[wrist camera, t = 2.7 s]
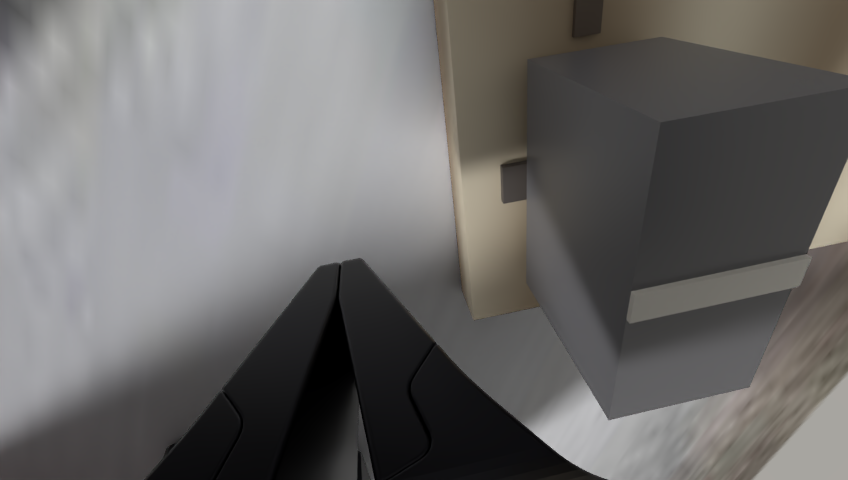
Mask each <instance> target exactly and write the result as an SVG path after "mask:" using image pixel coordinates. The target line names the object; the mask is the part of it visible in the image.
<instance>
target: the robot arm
mask: <svg viewBox="0 0 848 480" xmlns="http://www.w3.org/2000/svg"><path fill="white" fill-rule="evenodd" d="M222 390H223V392H222V391H221V392H219V393H218V394H217V395H216V397H215V398H214V399H213V401H212V402H211V403H210V404H209V406H208V407H207V408H206V409H205V411H204V412H203V413H202V414H201V415H200V417H199V418H198V419H197V420H196V421H195V423H194V424H193V425H192V426H191V427H190V429H189V430H188V431H187V432H186V433H185V435H184V436H183V437H182V438H181V439H180V440H179V442H178V443H177V444H174V445H171V446H169V447H168V448H167V449H166V452H165V455H164V458H163V459H162V460H161V462H160V463H159V464H158V465H157V466H156V467H155V468H154V469H153V470H152V472H151V473H150V474H149V475H148V476H147V477H146V478H145V479H144V480H371V479H370V476H369V473H368V470H367V468H366V465H365V462H364V459H363V456H362V453H361V452H360V451H359V450H358V409H359V404H360V409H361V414H362V419H363V424H364V429H365V434H366V439H367V444H368V448H369V453H370V458H371V463H372V468H373V473H374V478H375V480H607V479H604V478H601V477H598V476H596V475H593V474H591V473H589V472H587V471H585V470H583V469H581V468H579V467H578V466H576V465H574V464H573V463H571V462H569V461H568V460H566V459H565V458H564V457H562V456H561V455H559V454H558V453H557V452H556V451H554V450H553V449H552V448H551V447H549V446H548V445H547V444H546V443H544V442H543V441H542V440H541V439H540V438H539V437H537V436H536V435H535V434H534V433H533V432H531V431H530V430H529V429H528V428H527V427H525V426H524V425H523V424H522V423H521V422H520V421H518V420H517V419H516V418H515V417H514V416H512V415H511V414H510V413H509V412H508V411H506V410H505V409H504V408H503V407H502V406H500V405H499V404H498V403H497V402H496V401H495V400H493V399H492V398H491V397H490V396H489V395H488V394H486V393H485V392H484V391H483V390H482V389H481V388H480V387H479V386H477V385H476V384H475V383H474V382H473V381H472V380H471V379H470V378H469V377H467V376H466V374H465V373H464V372H463V371H462V370H461V369H460V368H459V367H458V366H457V365H456V364H455V363H454V362H453V361H452V360H451V359H450V358H449V357H448V355H447V354H446V353H445V352H444V351H443V350H442V349H441V348H440V346H438V345H437V344H436V342H435V341H434V340H433V339H432V338H431V336H430V335H429V334H428V333H427V332H426V331H425V330H424V329H423V327H422V326H421V325H420V324H419V323H418V322H417V321H416V319H415V318H414V317H413V316H412V315H411V314H410V313H409V311H408V310H407V309H406V308H405V307H404V306H403V305H402V304H401V302H400V301H399V300H398V299H397V298H396V297H395V296H394V294H393V293H392V292H391V291H390V290H389V289H388V288H387V286H386V285H385V284H384V283H383V282H382V281H381V280H380V278H379V277H378V276H377V275H376V274H375V273H374V272H373V271H372V269H371V268H370V267H369V266H368V265H367V264H366V263H365V261H364V260H363V259H361V258H358V259H353V260H348V261H344V262H342V263H341V264H340V263H333V264H327V265H322V266H320V267H318V268H317V270H316V271H315V272H314V273H313V275H312V276H311V277H310V278H309V280H308V281H307V282H306V283H305V285H304V286H303V287H302V289H301V290H300V291H299V292H298V294H297V295H296V296H295V297H294V299H293V300H292V301H291V302H290V304H289V305H288V306H287V307H286V309H285V310H284V311H283V312H282V314H281V315H280V316H279V318H278V319H277V320H276V321H275V323H274V324H273V325H272V326H271V328H270V329H269V330H268V331H267V333H266V334H265V335H264V336H263V338H262V339H261V340H260V342H259V343H258V344H257V345H256V347H255V348H254V349H253V350H252V352H251V353H250V354H249V355H248V357H247V358H246V359H245V360H244V362H243V363H242V364H241V365H240V367H239V368H238V369H237V371H236V372H235V373H234V374H233V376H232V377H231V378H230V379H229V381H228V382H227V383H226V384H225V386H224V387H223V389H222Z"/></svg>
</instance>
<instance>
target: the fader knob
mask: <svg viewBox="0 0 848 480" xmlns="http://www.w3.org/2000/svg"><path fill="white" fill-rule="evenodd" d="M847 159H848V75H845V74H840V73H835V72H830V71H825V70H820V69H816V68H811V67H806V66H801V65H796V64H791V63H787V62H782V61H777V60H772V59H767V58H762V57H758V56H753V55H748V54H743V53H738V52H733V51H729V50H724V49H719V48H714V47H709V46H704V45H700V44H695V43H690V42H685V41H680V40H675V39H671V38H666V37H657V38H651V39H645V40H639V41H633V42H627V43H621V44H615V45H609V46H603V47H597V48H592V49H586V50H580V51H574V52H568V53H562V54H556V55H550V56H544V57H538V58H532V59H527V227H526V283H527V285H528V287H529V288H530V290H531V292H532V293H533V295H534V297H535V298H536V300H537V302H538V303H539V305H540V307H541V308H542V310H543V312H544V313H545V315H546V317H547V318H548V320H549V322H550V323H551V325H552V326H553V328H554V330H555V331H556V333H557V335H558V336H559V338H560V340H561V341H562V343H563V345H564V346H565V348H566V350H567V351H568V353H569V355H570V356H571V358H572V360H573V361H574V363H575V365H576V366H577V368H578V370H579V371H580V373H581V375H582V376H583V378H584V380H585V381H586V383H587V385H588V386H589V388H590V390H591V391H592V393H593V395H594V396H595V398H596V400H597V401H598V403H599V405H600V406H601V408H602V410H603V411H604V413H605V415H606V416H607V418H608V420H611V419H616V418H620V417H624V416H628V415H633V414H637V413H641V412H645V411H650V410H654V409H658V408H662V407H667V406H671V405H675V404H680V403H684V402H688V401H692V400H697V399H701V398H705V397H709V396H714V395H718V394H722V393H726V392H731V391H735V390H739V389H743V388H748V387H750V384H751V382H752V380H753V377H754V375H755V373H756V370H757V368H758V366H759V363H760V361H761V359H762V357H763V354H764V352H765V350H766V347H767V345H768V343H769V340H770V338H771V336H772V333H773V331H774V329H775V326H776V324H777V322H778V319H779V317H780V315H781V312H782V310H783V308H784V305H785V303H786V301H787V298H788V296H789V294H790V292H791V289H792V288H796V287H799V286H800V284H801V282H802V280H803V277H804V275H805V273H806V271H807V268H808V266H809V264H810V262H811V259H812V257H811V256H809V255H807V252H808V250H809V247H810V245H811V243H812V240H813V238H814V236H815V233H816V231H817V229H818V227H819V224H820V222H821V220H822V217H823V215H824V213H825V210H826V208H827V206H828V203H829V201H830V199H831V196H832V194H833V192H834V189H835V187H836V185H837V182H838V180H839V178H840V175H841V173H842V171H843V168H844V166H845V164H846V162H847Z"/></svg>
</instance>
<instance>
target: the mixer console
mask: <svg viewBox="0 0 848 480" xmlns="http://www.w3.org/2000/svg"><path fill="white" fill-rule="evenodd" d="M434 10H435V21H436V31H437V41H438V51H439V61H440V71H441V82H442V92H443V102H444V112H445V122H446V133H447V143H448V153H449V163H450V173H451V184H452V194H453V204H454V214H455V224H456V234H457V245H458V255H459V265H460V275H461V285H462V292H463V294H464V297H465V300H466V302H467V305H468V307H469V310H470V313H471V315H472V318H473V320H478V319H483V318H488V317H492V316H497V315H502V314H507V313H511V312H516V311H521V310H525V309H530V308H535V307H540V305H539V303H538V302H537V300H536V298H535V297H534V295H533V293H532V292H531V290H530V288H529V287H528V285H527V283H526V227H527V59H532V58H538V57H544V56H550V55H556V54H562V53H568V52H574V51H580V50H586V49H592V48H597V47H603V46H609V45H615V44H621V43H627V42H633V41H639V40H645V39H651V38H657V37H666V38H671V39H675V40H680V41H685V42H690V43H695V44H700V45H704V46H709V47H714V48H719V49H724V50H729V51H733V52H738V53H743V54H748V55H753V56H758V57H762V58H767V59H772V60H777V61H782V62H787V63H791V64H796V65H801V66H806V67H811V68H816V69H820V70H825V71H830V72H835V73H840V74H845V75H848V0H434ZM846 241H848V159H847V162H846V164H845V166H844V168H843V171H842V173H841V175H840V178H839V180H838V182H837V185H836V187H835V189H834V192H833V194H832V196H831V199H830V201H829V203H828V206H827V208H826V210H825V213H824V215H823V217H822V220H821V222H820V224H819V227H818V229H817V231H816V233H815V236H814V238H813V240H812V243H811V245H810V247H809V249H813V248H818V247H823V246H828V245H832V244H837V243H842V242H846Z"/></svg>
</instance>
